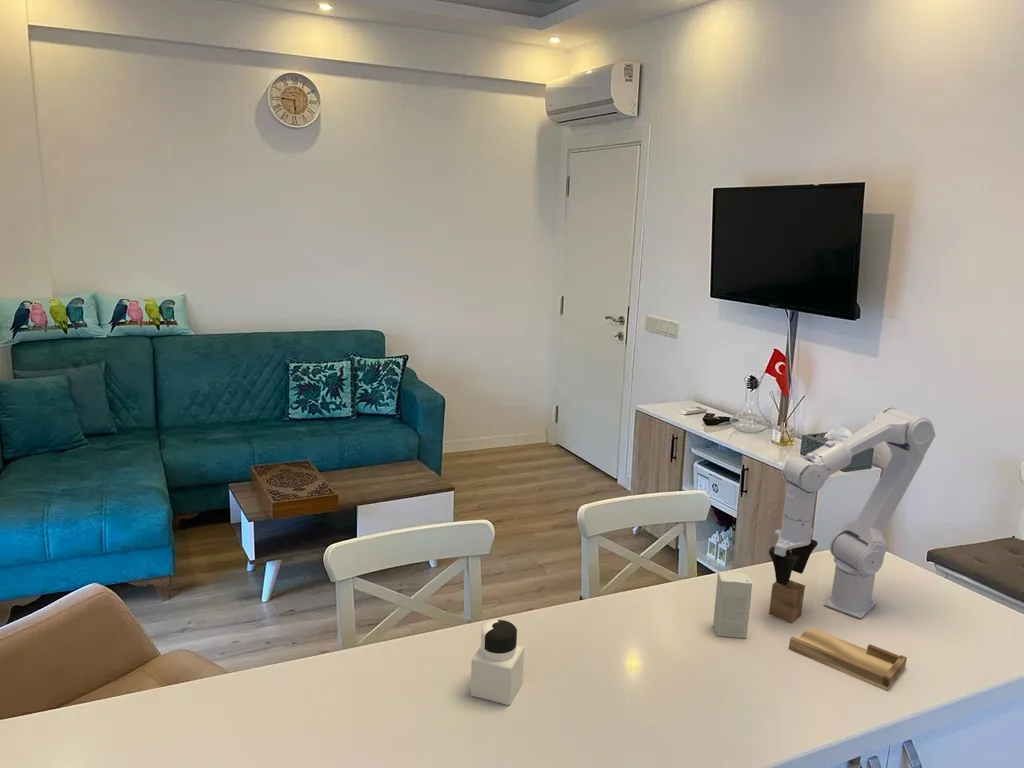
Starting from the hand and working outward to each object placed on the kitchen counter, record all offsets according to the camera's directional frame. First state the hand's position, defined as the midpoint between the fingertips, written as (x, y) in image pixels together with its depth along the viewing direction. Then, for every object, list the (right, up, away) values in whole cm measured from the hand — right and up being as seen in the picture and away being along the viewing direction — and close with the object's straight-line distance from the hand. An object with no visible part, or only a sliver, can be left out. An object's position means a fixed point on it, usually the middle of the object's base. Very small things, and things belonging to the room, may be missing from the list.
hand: (789, 577), depth 155 cm
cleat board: (+6, -12, -13) cm, 19 cm away
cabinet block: (0, -8, +2) cm, 9 cm away
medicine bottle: (-60, -13, -26) cm, 67 cm away
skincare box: (-14, -10, -5) cm, 18 cm away
